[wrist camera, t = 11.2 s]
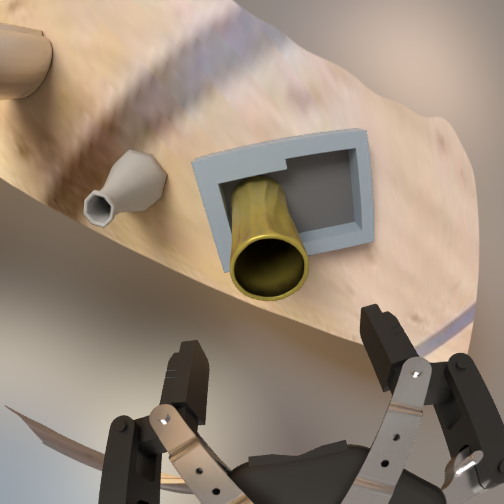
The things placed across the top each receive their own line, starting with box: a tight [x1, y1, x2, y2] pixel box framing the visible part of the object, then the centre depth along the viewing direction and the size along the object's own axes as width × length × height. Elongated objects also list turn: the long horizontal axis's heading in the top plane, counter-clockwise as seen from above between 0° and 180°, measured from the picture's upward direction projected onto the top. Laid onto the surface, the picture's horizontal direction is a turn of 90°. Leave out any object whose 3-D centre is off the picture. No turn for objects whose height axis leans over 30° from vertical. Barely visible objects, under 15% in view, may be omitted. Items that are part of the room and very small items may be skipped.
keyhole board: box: [191, 128, 374, 273], centre depth 29 cm, size 13×18×3 cm
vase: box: [230, 176, 309, 301], centre depth 24 cm, size 6×6×14 cm
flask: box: [83, 149, 167, 228], centre depth 25 cm, size 7×7×10 cm
